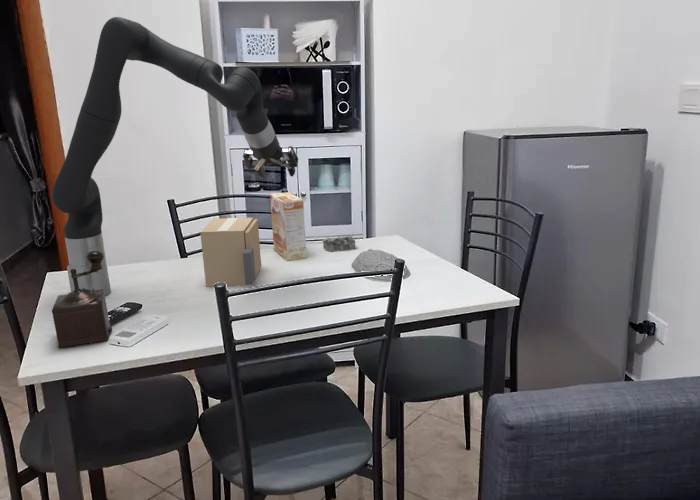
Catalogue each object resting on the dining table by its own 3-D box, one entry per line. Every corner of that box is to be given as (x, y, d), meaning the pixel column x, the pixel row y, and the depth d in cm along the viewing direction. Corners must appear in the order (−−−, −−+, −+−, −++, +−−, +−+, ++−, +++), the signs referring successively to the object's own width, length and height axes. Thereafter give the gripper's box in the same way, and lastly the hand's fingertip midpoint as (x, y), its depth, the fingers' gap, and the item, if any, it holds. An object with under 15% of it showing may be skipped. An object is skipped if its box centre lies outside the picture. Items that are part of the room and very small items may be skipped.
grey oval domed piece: (377, 285, 162) (378, 261, 161) (338, 266, 184) (339, 245, 183) (424, 280, 169) (425, 258, 168) (381, 263, 191) (382, 242, 190)
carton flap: (258, 266, 182) (254, 219, 177) (264, 266, 182) (260, 219, 177) (245, 289, 161) (241, 237, 157) (253, 289, 161) (248, 237, 157)
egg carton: (325, 253, 196) (325, 241, 195) (322, 247, 203) (321, 236, 202) (357, 250, 198) (356, 238, 197) (352, 244, 205) (351, 233, 204)
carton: (218, 268, 182) (213, 218, 177) (257, 267, 182) (253, 217, 177) (206, 286, 167) (200, 231, 162) (248, 285, 166) (243, 230, 162)
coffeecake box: (273, 250, 201) (269, 193, 195) (293, 247, 203) (289, 191, 198) (286, 261, 187) (282, 201, 182) (307, 258, 190) (304, 199, 185)
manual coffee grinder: (111, 341, 133) (99, 265, 128) (57, 349, 130) (43, 272, 125) (114, 316, 147) (104, 247, 142) (66, 323, 144) (53, 253, 139)
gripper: (288, 123, 153) (304, 163, 167) (237, 126, 156) (256, 165, 170) (284, 146, 149) (300, 184, 163) (232, 148, 152) (251, 186, 166)
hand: (278, 174), depth 166 cm, fingers open, 8 cm apart
